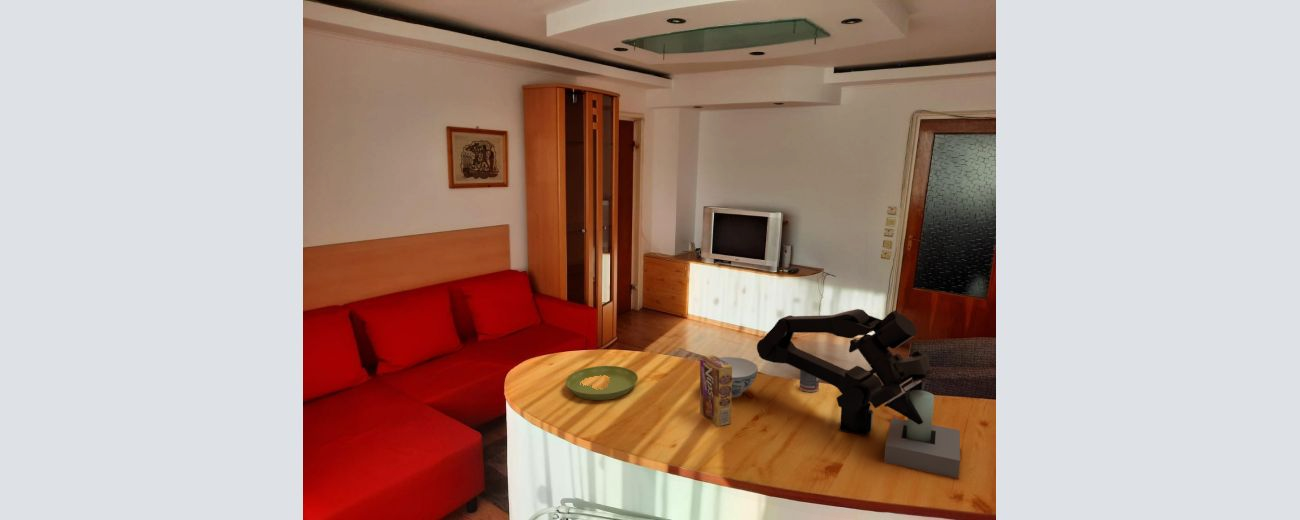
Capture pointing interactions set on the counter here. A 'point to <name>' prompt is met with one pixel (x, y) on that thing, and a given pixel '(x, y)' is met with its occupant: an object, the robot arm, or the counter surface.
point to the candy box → (715, 390)
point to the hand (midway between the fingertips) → (926, 419)
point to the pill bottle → (808, 382)
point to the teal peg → (924, 407)
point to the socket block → (924, 449)
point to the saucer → (618, 386)
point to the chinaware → (741, 374)
